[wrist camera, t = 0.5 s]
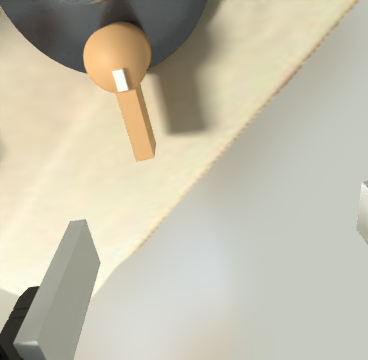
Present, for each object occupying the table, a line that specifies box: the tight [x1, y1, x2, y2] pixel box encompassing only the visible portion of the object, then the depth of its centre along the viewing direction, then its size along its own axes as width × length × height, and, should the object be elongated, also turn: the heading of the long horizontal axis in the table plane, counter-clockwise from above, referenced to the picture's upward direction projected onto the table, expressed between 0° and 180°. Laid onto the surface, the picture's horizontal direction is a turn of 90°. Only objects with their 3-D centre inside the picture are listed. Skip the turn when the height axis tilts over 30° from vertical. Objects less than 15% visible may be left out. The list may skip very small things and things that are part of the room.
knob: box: [83, 22, 156, 162], centre depth 29 cm, size 11×5×5 cm, turn 12°
